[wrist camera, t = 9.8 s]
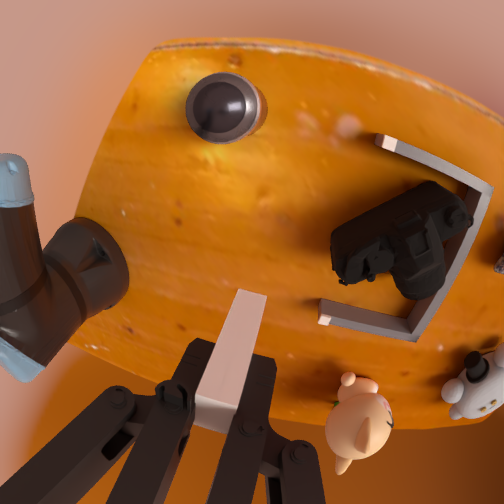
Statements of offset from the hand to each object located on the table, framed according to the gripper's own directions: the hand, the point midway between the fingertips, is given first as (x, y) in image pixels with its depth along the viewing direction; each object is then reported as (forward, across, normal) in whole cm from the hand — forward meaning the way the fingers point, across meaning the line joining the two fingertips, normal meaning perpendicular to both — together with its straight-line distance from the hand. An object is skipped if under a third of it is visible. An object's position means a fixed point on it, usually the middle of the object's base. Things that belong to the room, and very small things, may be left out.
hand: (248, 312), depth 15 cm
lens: (+17, -6, +10) cm, 21 cm away
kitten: (+17, +20, -25) cm, 36 cm away
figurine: (+17, +43, -17) cm, 50 cm away
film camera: (+17, +14, +1) cm, 22 cm away
